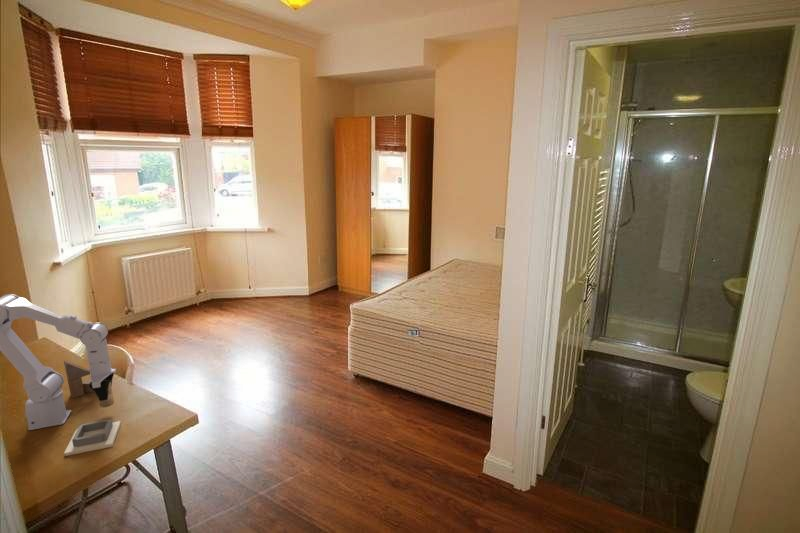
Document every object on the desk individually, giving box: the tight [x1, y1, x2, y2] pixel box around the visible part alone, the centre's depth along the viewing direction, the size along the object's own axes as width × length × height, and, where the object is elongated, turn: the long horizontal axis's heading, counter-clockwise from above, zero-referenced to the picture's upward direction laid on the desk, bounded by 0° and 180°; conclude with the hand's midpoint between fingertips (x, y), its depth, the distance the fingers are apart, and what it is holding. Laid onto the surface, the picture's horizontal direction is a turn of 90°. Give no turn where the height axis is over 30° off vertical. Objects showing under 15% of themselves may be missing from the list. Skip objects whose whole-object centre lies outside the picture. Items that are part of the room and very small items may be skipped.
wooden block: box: [63, 359, 94, 399], centre depth 154 cm, size 4×11×18 cm, turn 139°
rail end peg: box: [98, 380, 115, 408], centre depth 141 cm, size 4×4×8 cm
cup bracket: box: [63, 418, 122, 457], centre depth 130 cm, size 12×12×4 cm
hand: (105, 396), depth 142 cm, fingers closed on rail end peg, 4 cm apart
